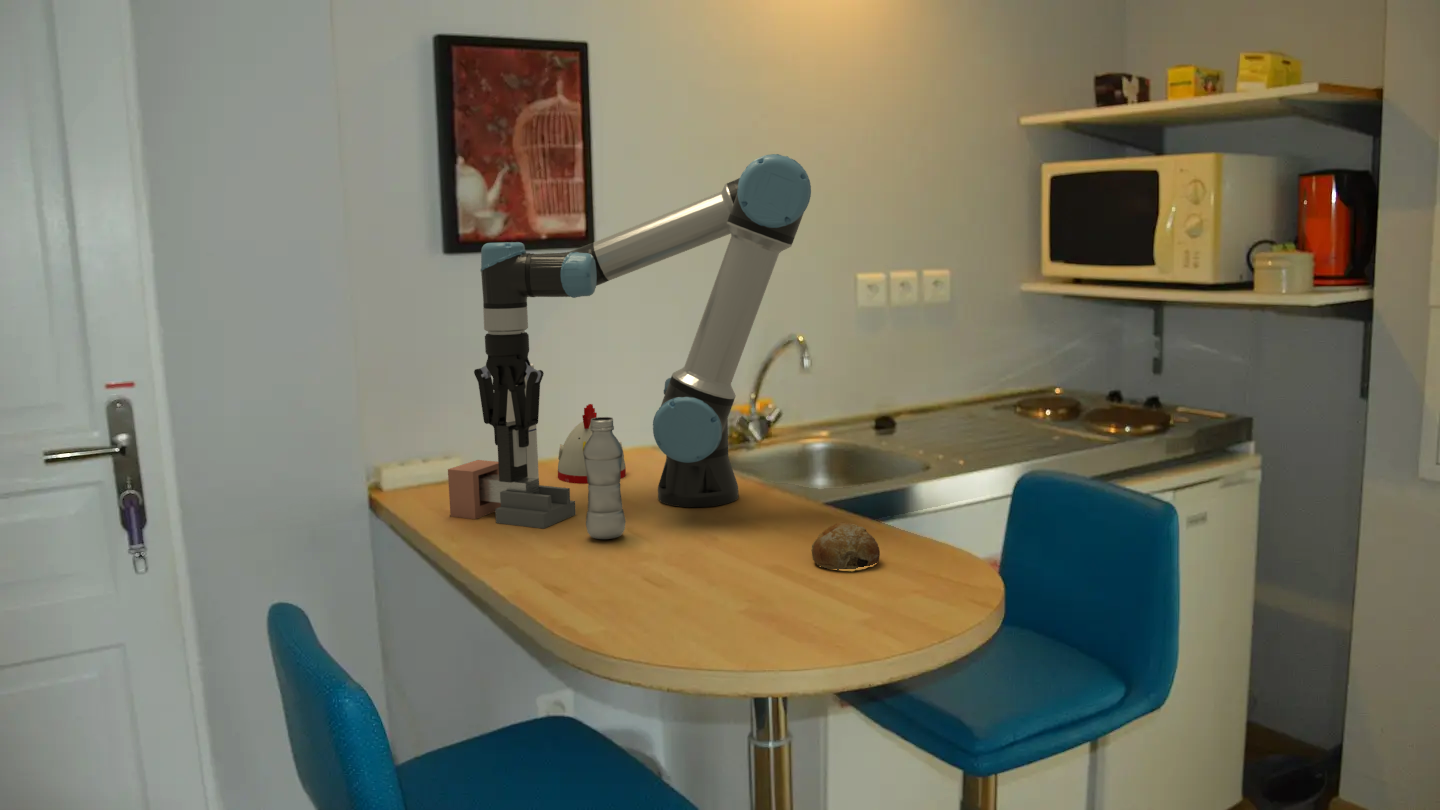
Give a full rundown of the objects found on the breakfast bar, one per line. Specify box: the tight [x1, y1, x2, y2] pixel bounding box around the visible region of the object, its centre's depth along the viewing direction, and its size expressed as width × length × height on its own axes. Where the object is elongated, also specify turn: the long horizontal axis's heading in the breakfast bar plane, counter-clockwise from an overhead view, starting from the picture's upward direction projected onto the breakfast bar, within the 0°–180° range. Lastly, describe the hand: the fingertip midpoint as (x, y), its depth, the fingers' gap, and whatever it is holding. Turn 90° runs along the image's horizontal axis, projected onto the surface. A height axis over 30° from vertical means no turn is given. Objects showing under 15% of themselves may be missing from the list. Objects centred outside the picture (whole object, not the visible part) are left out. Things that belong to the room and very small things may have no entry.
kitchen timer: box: [557, 403, 627, 485], centre depth 231 cm, size 14×14×15 cm
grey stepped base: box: [494, 484, 576, 529], centre depth 198 cm, size 10×10×5 cm
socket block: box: [447, 459, 501, 520], centre depth 203 cm, size 6×9×9 cm, turn 154°
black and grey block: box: [478, 421, 540, 503], centre depth 200 cm, size 13×5×14 cm, turn 64°
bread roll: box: [810, 522, 881, 570], centre depth 169 cm, size 10×10×8 cm
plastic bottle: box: [583, 416, 627, 540], centre depth 184 cm, size 6×7×20 cm
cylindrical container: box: [506, 362, 540, 480], centre depth 216 cm, size 7×7×25 cm
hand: (512, 464), depth 199 cm, fingers closed on black and grey block, 3 cm apart
